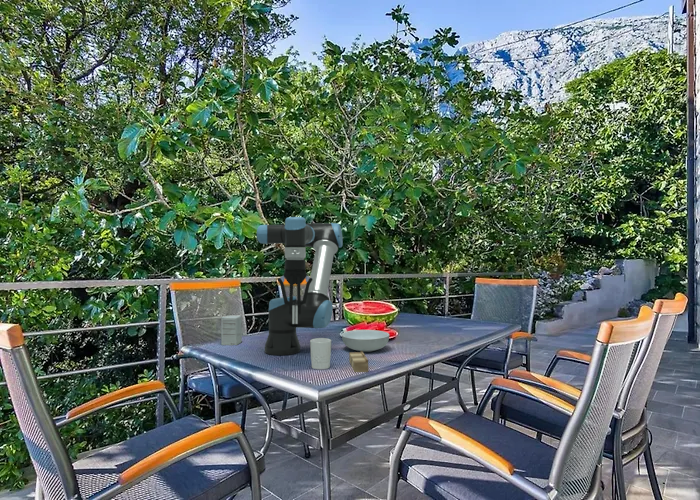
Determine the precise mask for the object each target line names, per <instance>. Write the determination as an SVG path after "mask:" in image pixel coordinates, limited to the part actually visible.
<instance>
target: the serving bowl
mask: <svg viewBox="0 0 700 500" xmlns="http://www.w3.org/2000/svg"><path fill="white" fill-rule="evenodd" d="M341 339H342V342H343V343H344V345H345V346H346V347H347V348H349V349H351V350H354V351H357V352H361V351H363V353H368V352H375V351H378V350H381V349H383V348H385V346H386V345H388V342H389V339H390V333H388V332H387V331H383V330H378V329H377V330H376V329H354V330H349V331H345V332H342V333H341Z"/></svg>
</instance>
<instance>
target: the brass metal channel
mask: <svg viewBox="0 0 700 500" xmlns="http://www.w3.org/2000/svg"><path fill="white" fill-rule="evenodd" d="M348 353H349V355H348V356H349V357H348V358H349V359H348V361H349V364H350V367H351V368H352V370H353V372H354V373H368V372H369V359H368V357H367V356H366V355H365V352H363V351H357V352H356V351H354V352H353V351H351V352H348Z"/></svg>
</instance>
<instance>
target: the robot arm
mask: <svg viewBox="0 0 700 500" xmlns="http://www.w3.org/2000/svg"><path fill="white" fill-rule="evenodd" d="M342 231H343V230H342V227H341V225H340V223H338V222H337V223H336V222H330V223H325V222H324V223H323V222H322V223H321V222H318V223H317V222H315V223H312V222H311V223H309V222H308V223H306V218H305V217H301V216H290V217H286V218H285V221H284V224H260V225H259V226H258V227H257V228H256V239H257V241H258V242H259V243H260V244H262V245H263V244H265V245H268V244H269V245H273V244H275V245H276V244H277V245H278V244H279V245H280V244H283V245H284V258H285V260H284V272H283V275H282V276H280V277H278V278H277V282H278V283H279V285H280V288H281V293H282V296H281V297H276V298H272V299H270V301H269V303H268V335H267V338H266V341H265V344H264V353H265V354H266V355H267V354H268V355H272V356H288V355H289V356H290V355H294V354H295V355H296V354H298V353H300V352H301V344H300V341H299V338H298V335H297V328H303V329H304V328H305V329H306V328H307V329H309V328H310V329H315V330H318V329H325V328H327V326H329V325H330V322H331V320H332V316H333V309H334V308H333V307H334V306H333V302H332V301H331V300H330V297H329V296H328V290H329V285H330V278H331V272H332V266H333V260H334V256H335V254H336V253H338V251H339V248H342V247H343V244H344V243H343V232H342ZM306 248H313V249H314V251H315V253H314V257H313V263H312V267H311V273H310V276H308V273H307V272H306ZM285 280H286V282H287V283H288V284H289V294H288V295H289V296H287V292H286V288H285V287H286V286H285V283H284V282H285ZM304 280H305V282H306V284H305V289H304V293H303V296H302V297H301V295H302V294H301V293H302V292H301V285H302V283H303V282H304ZM294 285H296V293H297V295H296V296H295V295H294ZM301 298H302V299H301Z"/></svg>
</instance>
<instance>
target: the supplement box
mask: <svg viewBox="0 0 700 500" xmlns="http://www.w3.org/2000/svg"><path fill="white" fill-rule="evenodd" d="M242 316H243V315H226V316H223V317H221V319H220V320H221V323H220V324H221V325H220V326H221V330H220V331H221V333H220V335H221V337H220V338H221V340H220V341H221V344H220V345H222V346H233V345H236V346H238V345H239V344H241V343H242V342H243V341H242V339H243V336H242V334H243V332H242V330H243V329H242V328H243V326H242V325H243V324H242V323H243V322H242V320H243V317H242Z"/></svg>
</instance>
